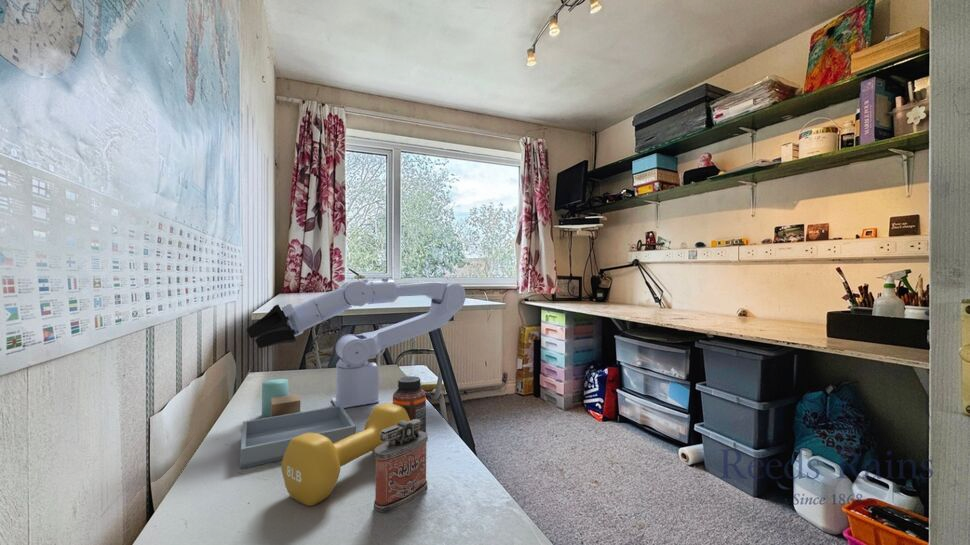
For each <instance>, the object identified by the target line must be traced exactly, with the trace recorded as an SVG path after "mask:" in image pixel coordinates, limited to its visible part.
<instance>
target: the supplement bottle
mask: <svg viewBox="0 0 970 545" xmlns="http://www.w3.org/2000/svg"><path fill="white" fill-rule="evenodd" d="M421 384H422V383H421V377H419V376H410V375H409V376H404V377H400V378H398V380H397V387H398V388H397V389H396V390H395V391H394V392H393V394H392V404H396V405H399V406H402V407H403V408H405V410H406V412H407V414H408V416H409V419H410V421H411V420H414V419H418V420H420V428H419V431H423V432H426V433H427V398H426V397H427V394H426V391H425V390H424V388H422V387H421Z"/></svg>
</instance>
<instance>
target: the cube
mask: <svg viewBox="0 0 970 545" xmlns="http://www.w3.org/2000/svg"><path fill="white" fill-rule="evenodd" d="M298 412H301V399H300V396H299V393H297V394H296V393H295V394H288V396H281V397H274V398H271V417H274V416H280V415H286V414H292V413H298Z"/></svg>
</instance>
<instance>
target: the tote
mask: <svg viewBox="0 0 970 545" xmlns="http://www.w3.org/2000/svg"><path fill="white" fill-rule="evenodd" d="M241 431H242V432H241V433H242V434H241V440H240V441H241V444H240V470H242V469H247V468H251V467H256V466H260V465H265V464H269V463H273V462H278V461H282V459H283V456H284V454H285V451H286V449H287V446H288V444H289V442H290V441H291V440H292V439H293V438H294V437H297V436H299V435H302V434H305V433H317V434H321V435H323V436H325V437H327V438H329V439H330V440H331V442H332V443H333V444H334V443H336V442H338V441H340V440H342V439H344V438H346V437H348V436H351V435H353V434H356V433H357V426H356V424H355V422H354V421H353V420H352V418H351V417H350V415H349V414H348V413H347V411H346V410H345V408H343V407H342V405H339V406H335V405H334V406H328V407H322V408H317V409H311V410H303V411H300V412H298V413H292V414H286V415H280V416H274V417H268V418H262V417H261V418H257V419H250V420H245V421H243V422H242V430H241Z"/></svg>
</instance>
